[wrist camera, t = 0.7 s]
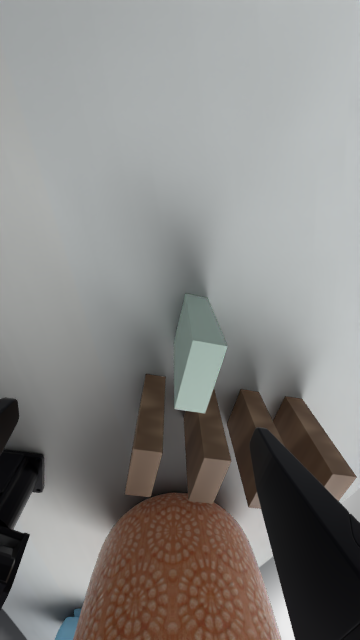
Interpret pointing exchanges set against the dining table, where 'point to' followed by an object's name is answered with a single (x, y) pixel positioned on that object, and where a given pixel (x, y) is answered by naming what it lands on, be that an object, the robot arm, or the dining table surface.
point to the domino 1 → (147, 438)
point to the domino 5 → (312, 446)
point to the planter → (176, 578)
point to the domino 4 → (248, 437)
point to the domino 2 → (196, 354)
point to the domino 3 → (205, 452)
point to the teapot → (69, 627)
